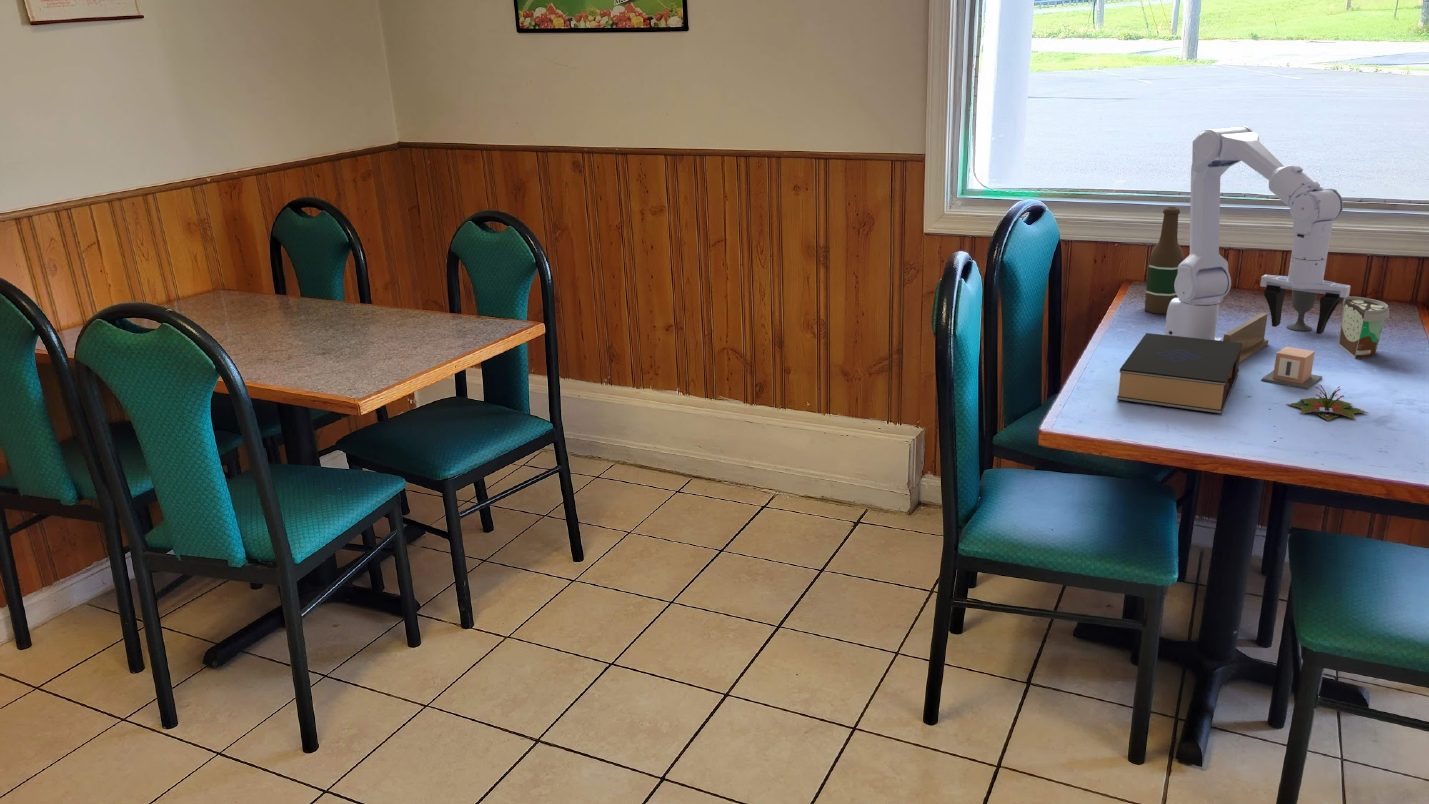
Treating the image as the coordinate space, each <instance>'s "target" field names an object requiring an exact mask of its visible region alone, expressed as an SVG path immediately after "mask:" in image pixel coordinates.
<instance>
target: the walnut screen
mask: <svg viewBox="0 0 1429 804" xmlns="http://www.w3.org/2000/svg"><path fill="white" fill-rule="evenodd" d="M1268 315H1269V313H1267V312H1260V313H1259V314H1257V315H1255V316H1253V317H1251V318H1250V319H1248V320H1246V321H1245V322H1243V323H1241V324H1239V325H1237V326H1235V327H1234V328H1233V329H1231V330H1229V331H1227V332H1225V333H1224V334H1223V338H1222V341H1228V342H1238V343H1242V348H1241V353H1240V360H1239V364H1240V363H1242V362H1243V361H1244V360H1246V359H1248V358H1249V357H1251V356H1252V355H1254V354H1256V353H1257V352H1258V351H1260V350H1261V349H1263V348H1265V347H1266V346H1268V345H1269V339H1266V338H1265V335H1266V328H1267V321H1268Z"/></svg>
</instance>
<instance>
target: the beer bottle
mask: <svg viewBox="0 0 1429 804" xmlns="http://www.w3.org/2000/svg"><path fill="white" fill-rule="evenodd" d="M1162 214H1163V219H1162V225H1161V232H1160V237H1159V240H1158V242H1157V243H1156V244H1155V246H1154V247H1153V249H1152V251H1151V253H1150V256H1149V257H1150V258H1149V262H1148V269H1147V279H1146V280H1147V281H1146V287H1145V288H1146V289H1145V299H1144V300H1145V301H1144V312H1148V313H1150V314H1151V313H1152V314H1153V315H1154V314H1155V315H1167V310H1168V306H1169V304H1170V302H1171V300H1172V299H1173V298H1178V296H1177V295H1176V292H1175V288H1174V284H1175V279H1176V277H1177V274H1178V265H1179V264H1180V263H1181V262H1182V261H1184V253H1183V250H1182V248H1181V246H1180V244H1179V243H1178V241H1179V240H1178V230H1179V229H1178V228H1179V227H1178V226H1179V214H1181V209H1180V207H1178V206H1166V207H1164V208H1163V211H1162Z"/></svg>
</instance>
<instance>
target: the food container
mask: <svg viewBox="0 0 1429 804" xmlns="http://www.w3.org/2000/svg"><path fill="white" fill-rule="evenodd" d="M1342 300H1343V301H1342V313H1341V314H1342V315H1341V323H1340V328H1339V338H1338V344H1337V345H1338V346H1339V347H1341V348H1342V349H1343V350H1344V351H1346V352H1347V353H1348V355H1350V356H1351V357H1352V358H1354V359H1369V358H1372V357H1374V356H1376V353H1377V349H1378V345H1379V342H1380V338H1381V334H1382V331H1383V327H1384V324H1385V320H1387V319H1389V318H1390V308H1389V305H1388V304H1387V303H1385V302H1384V301H1381V300H1377V299H1372V298H1369V297H1361V296H1350V295H1349V296H1348V297H1346V298H1343V299H1342Z"/></svg>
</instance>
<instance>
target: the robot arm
mask: <svg viewBox="0 0 1429 804" xmlns="http://www.w3.org/2000/svg"><path fill="white" fill-rule="evenodd" d="M1191 159H1192V162H1191V165H1190V166H1191V167H1190V205H1189V207H1190V212H1189V213H1190V218H1189V255H1188V256H1186V258H1185V259H1183V261H1182V262H1181V263H1180V264H1179V265H1178V274H1177V277H1176V279H1175V284H1174V288H1175V292H1176V295H1177V296H1178V298H1173V299H1172V300H1171V302H1170V304H1169V306H1168V310H1167V314H1166V317H1165V328H1164V334H1163V335H1170V336H1180V337H1190V338H1199V339H1209V340H1219V341H1223V338H1222V337H1218V336H1217V337H1216V333H1217V325H1218V318H1219V310H1220V302H1223V301H1224V297H1226V296H1227V294H1228V293H1229V292H1230V291H1231V287H1232V277H1231V276H1230V272H1229V262H1228V261H1227V260H1226V258H1224V257H1223V256H1222V255H1220V220H1221V219H1220V216H1221V213H1220V211H1221V210H1220V207H1221V177H1222V176H1223V174H1224V173H1225V172H1226V171H1227V170H1229V168H1231V167H1233V166H1234V165H1236V164H1238V163H1240V162H1243V163H1244V164H1245V165H1247V166H1248V167H1250V168H1251V169H1252V170H1254V171H1255V172H1257V174H1259V175H1261V176H1262V177H1263V178H1265V179H1266V180H1267V181H1268V189H1269V191H1270V192H1271V193H1273V194H1274V196H1276V197H1277V198H1278V199H1279V200H1281V201H1282V202H1283V203H1284V204H1285V205H1287V206H1288V208H1289V209H1290V210H1289V211H1290V216H1291V218H1292V221H1293V223H1292V224H1293V225H1292V230H1293V232H1294V234H1293V235H1294V236H1293V243H1292V247H1291V256H1290V261H1289V268H1288V275H1287V276H1286V275H1275V274H1274V275H1273V274H1264V275H1262V276H1261V278H1260V279H1261V280H1260V285H1259V286H1260V287H1263V288H1265V289H1264V290H1263V295H1264V297H1265V300H1266V302H1267V305H1268V308H1269V312H1270V318H1271V327H1274V328H1277V327H1278V326H1280V324H1281V320H1282V310H1283V304H1284V299H1285V297H1286V293H1287V290H1291V291H1292V290H1298V291H1305V292H1312V293H1318V294H1322V295H1323V296H1322V297H1320V298H1319V314H1318V315H1319V316H1318V321H1317V325H1316V329H1315V330H1316V332H1315V334H1318V335H1321V334H1323V333H1324V332H1325V329H1326V326H1327V323H1328V322H1329V320H1330V318H1331V316H1332V314H1333V313H1334V312H1335V309H1336V308H1337V306H1338V305H1339V304H1341V301H1342V300H1344V298H1346V297H1348V296H1350V293H1351V288H1352V286H1351V285H1349V284H1344V283H1338V282H1334V281H1329V280H1324V277H1325V273H1326V272H1325V271H1326V265H1327V261H1328V260H1327V259H1328V254H1329V248H1330V243H1331V242H1330V241H1331V235H1332V229H1333V224H1334V221H1336V220H1337V219H1338V218H1340V216H1341V214H1342V213H1343V209H1344V199H1343V198H1342V196H1341V194H1340V192H1338V190H1337V189H1335V188H1324V186H1323V187H1321V184H1320V183H1319V182H1318V181H1314V180H1313V179H1311V178H1310V177H1309V176H1308V175H1306V174H1305V173H1304V172H1303V171H1304V168H1302V167H1301V166H1300V165H1291V164H1290V165H1284V164H1283V163H1282V162H1281V161H1280V160H1279V159H1278V158H1277V157H1275V155H1273V153H1272V152H1271V151H1269V150H1268V148H1267V147H1265V145H1263V144H1262V142H1261V141H1260V136H1259V134H1258V133H1256V132H1254V131H1253V129H1251V128H1250V127H1249V126H1246V125H1242V126H1239V127H1238V126H1237V127H1228V128H1216V129H1215V128H1214V129H1210V128H1206V129H1204V130H1202V131H1201V132H1200V133H1198V135H1197V136H1196V137H1195V139H1194V140H1193V141H1192V157H1191Z"/></svg>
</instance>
